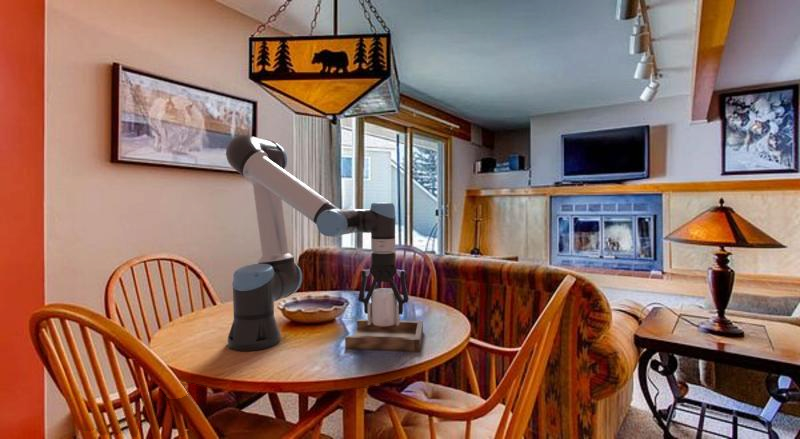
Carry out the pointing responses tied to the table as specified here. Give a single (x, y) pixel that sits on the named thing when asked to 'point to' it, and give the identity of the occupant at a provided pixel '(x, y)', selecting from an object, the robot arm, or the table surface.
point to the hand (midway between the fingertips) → (383, 323)
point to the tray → (386, 336)
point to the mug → (383, 307)
